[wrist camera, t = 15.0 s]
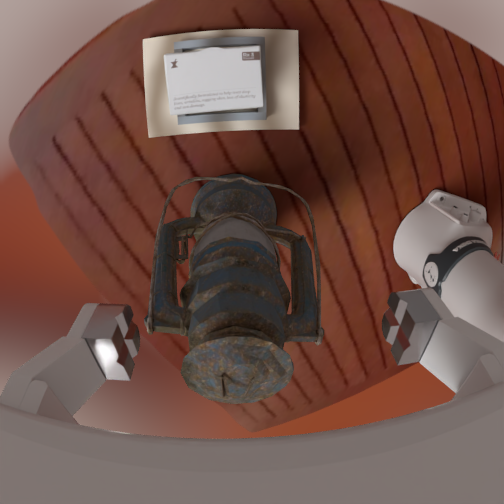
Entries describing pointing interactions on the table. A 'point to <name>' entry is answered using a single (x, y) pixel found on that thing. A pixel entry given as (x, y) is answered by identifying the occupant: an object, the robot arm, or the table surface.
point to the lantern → (235, 290)
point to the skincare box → (214, 79)
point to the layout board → (262, 118)
